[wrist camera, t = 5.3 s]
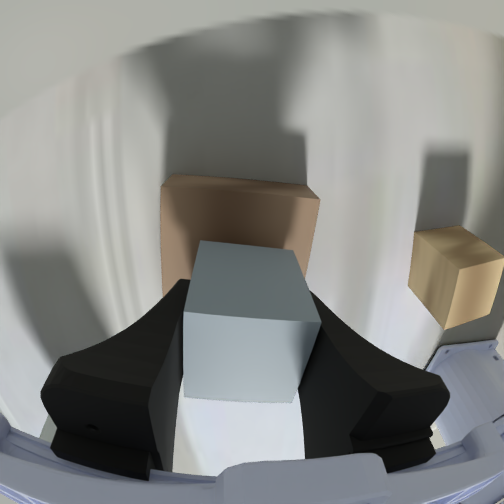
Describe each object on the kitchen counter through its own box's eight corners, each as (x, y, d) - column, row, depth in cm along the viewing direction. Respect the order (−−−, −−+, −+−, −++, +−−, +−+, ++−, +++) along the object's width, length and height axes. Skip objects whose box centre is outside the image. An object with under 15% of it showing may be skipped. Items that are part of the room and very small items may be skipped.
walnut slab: (305, 184, 16) (320, 199, 13) (286, 295, 19) (294, 325, 16) (173, 173, 15) (160, 186, 13) (173, 287, 18) (164, 317, 16)
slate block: (293, 250, 13) (321, 322, 9) (276, 322, 15) (291, 402, 10) (200, 240, 13) (183, 311, 8) (195, 315, 14) (183, 397, 10)
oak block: (459, 225, 17) (505, 257, 13) (450, 275, 19) (489, 314, 14) (413, 231, 17) (459, 269, 13) (407, 285, 19) (443, 330, 14)
